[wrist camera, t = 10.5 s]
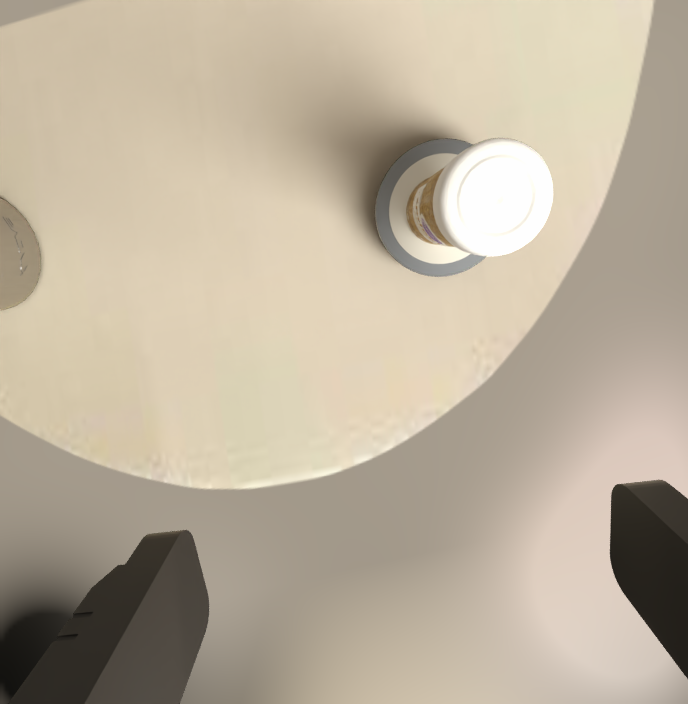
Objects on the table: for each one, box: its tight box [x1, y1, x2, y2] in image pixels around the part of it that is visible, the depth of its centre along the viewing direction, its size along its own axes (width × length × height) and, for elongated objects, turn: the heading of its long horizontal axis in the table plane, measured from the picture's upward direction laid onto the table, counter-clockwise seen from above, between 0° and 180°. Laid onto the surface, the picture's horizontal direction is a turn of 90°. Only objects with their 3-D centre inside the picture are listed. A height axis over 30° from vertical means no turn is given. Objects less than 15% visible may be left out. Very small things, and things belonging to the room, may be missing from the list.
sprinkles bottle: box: [406, 138, 553, 256], centre depth 24 cm, size 5×5×13 cm
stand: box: [375, 139, 486, 277], centre depth 32 cm, size 9×9×3 cm
